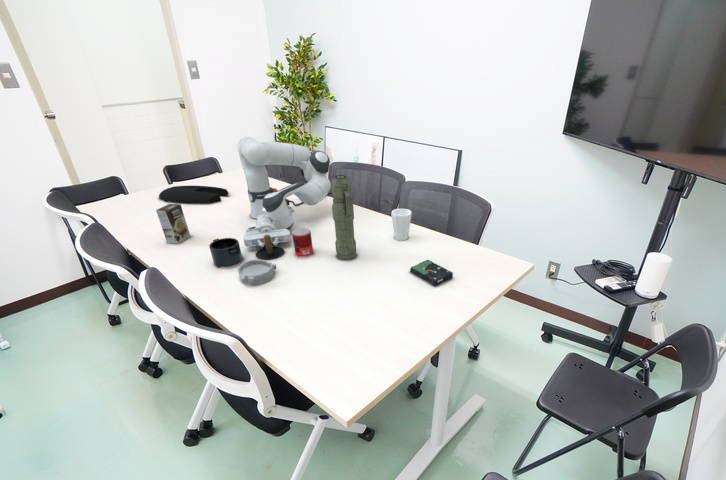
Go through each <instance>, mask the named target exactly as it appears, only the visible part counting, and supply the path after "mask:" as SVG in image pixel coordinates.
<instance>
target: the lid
mask: <svg viewBox="0 0 726 480" xmlns="http://www.w3.org/2000/svg"><path fill="white" fill-rule="evenodd" d="M264 240H265V245H264V246H265V247H262V248H260V249H259V250H257V251H256V252H255V257H256V258H257V259H258V260H266V261H271V260H272V261H273V260H277V259H279V258H281V257H283V256H284V255H285V254H286V251H285V249H284V248H283V247H281V246H273V243H271V238H270V235H265V236H264Z"/></svg>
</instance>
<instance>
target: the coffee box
mask: <svg viewBox="0 0 726 480" xmlns="http://www.w3.org/2000/svg"><path fill="white" fill-rule="evenodd" d="M155 212H156V214H157V218H158V220H159V223H160V226H161V230H162V233H163V235H164V238H165V241H166V243H167V244H174V245H179V244H181V243H182V242H184V241H185V240H188V239H189V238H190V237H191V233H190V230H189V226H188V224H187V221H186V217H185V214H184V211H183V207H182V205H181V203H168V204H166V205H163V206H162V207H160V208H157V209H155Z"/></svg>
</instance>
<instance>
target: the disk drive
mask: <svg viewBox="0 0 726 480" xmlns="http://www.w3.org/2000/svg"><path fill="white" fill-rule="evenodd" d="M409 270H410V271H409V272H410V273H411V274H413V275H415V276H416V277H418V278H420V279H422V280H423V281H425V282H426V283H428V284H431V285H432V286H434V287H435V286H438V285H440V284H443V283H445V282H447V281H449V280H450V279H451V280H452V279H453V277H454V272H452V271H450V270H448V269H447V268H444V267H443V266H440V264H437V263H435V262H434V261H432V260H430V259H426V260H423V261H421V262H419V263H417V264H415V265H413V266H411V267H410V268H409Z"/></svg>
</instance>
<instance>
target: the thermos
mask: <svg viewBox="0 0 726 480" xmlns="http://www.w3.org/2000/svg"><path fill="white" fill-rule="evenodd" d="M351 185H352V184H351V181H350V178H349V177H348V176H347V175H345V174H337V175H334V176H333V177H332V180H331V193H332V194H331V195H332V205H331V211H332V212H331V214H332V219H333V222H334V230H335V241H334V243H335V252H336V258H337V259H338V260H340V261H351V260H354V259H356V258H357V241H356V238H355V228H354V227H355V225H354V219H355V210H354V204H353V202H352V201H353V200H352V188H351V187H352V186H351Z"/></svg>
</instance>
